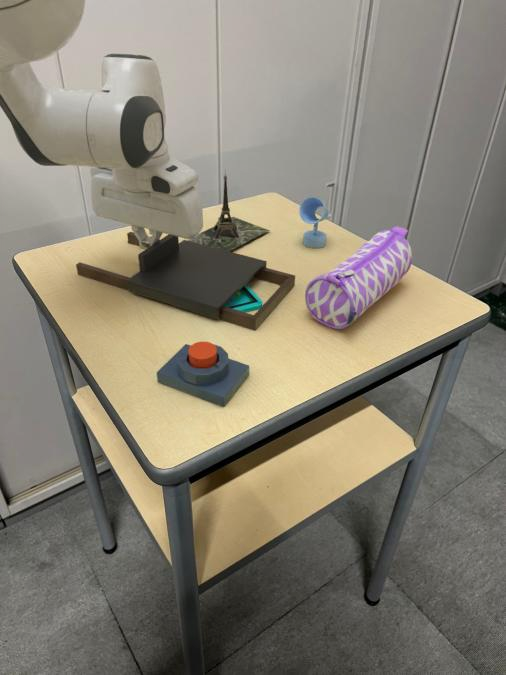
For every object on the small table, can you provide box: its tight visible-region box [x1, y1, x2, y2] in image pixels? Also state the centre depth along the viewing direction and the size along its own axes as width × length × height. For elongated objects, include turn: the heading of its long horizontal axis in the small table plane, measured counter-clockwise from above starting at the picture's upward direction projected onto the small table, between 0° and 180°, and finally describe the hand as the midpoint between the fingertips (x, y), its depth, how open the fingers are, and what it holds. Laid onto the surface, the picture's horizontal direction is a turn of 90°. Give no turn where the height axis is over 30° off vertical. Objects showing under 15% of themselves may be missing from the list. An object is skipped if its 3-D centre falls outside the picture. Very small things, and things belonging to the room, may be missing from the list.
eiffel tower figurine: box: [186, 169, 271, 252], centre depth 99 cm, size 15×10×13 cm
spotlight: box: [298, 196, 330, 249], centre depth 98 cm, size 5×10×7 cm
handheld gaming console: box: [224, 283, 263, 313], centre depth 86 cm, size 8×1×15 cm
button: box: [188, 341, 217, 369], centre depth 66 cm, size 4×4×2 cm
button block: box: [156, 343, 250, 408], centre depth 68 cm, size 10×7×4 cm
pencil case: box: [304, 225, 413, 330], centre depth 82 cm, size 22×9×10 cm, turn 143°
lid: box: [127, 234, 267, 321], centre depth 86 cm, size 17×17×5 cm
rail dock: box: [75, 231, 296, 331], centre depth 89 cm, size 35×15×2 cm, turn 63°
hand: (149, 249), depth 89 cm, fingers closed
